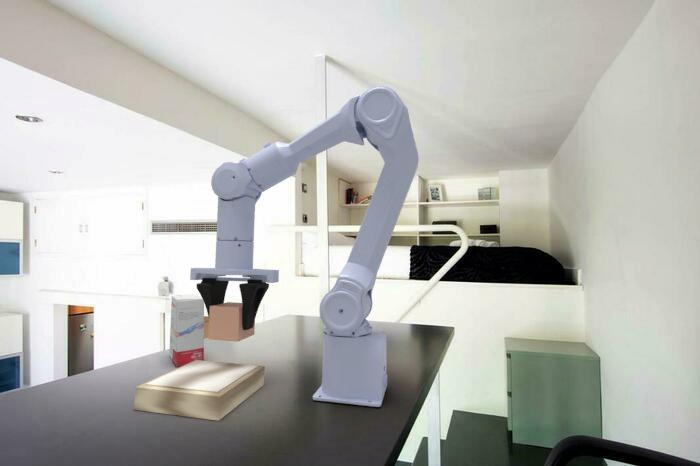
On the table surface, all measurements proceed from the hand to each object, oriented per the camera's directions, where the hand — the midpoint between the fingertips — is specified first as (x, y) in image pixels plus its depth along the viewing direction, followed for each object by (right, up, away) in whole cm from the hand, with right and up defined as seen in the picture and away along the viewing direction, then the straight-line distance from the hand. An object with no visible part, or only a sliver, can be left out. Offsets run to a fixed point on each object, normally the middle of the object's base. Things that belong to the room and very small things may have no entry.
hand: (231, 327), depth 54 cm
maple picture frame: (-2, -8, -6) cm, 10 cm away
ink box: (-12, -9, +11) cm, 19 cm away
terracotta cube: (0, -2, 0) cm, 2 cm away
